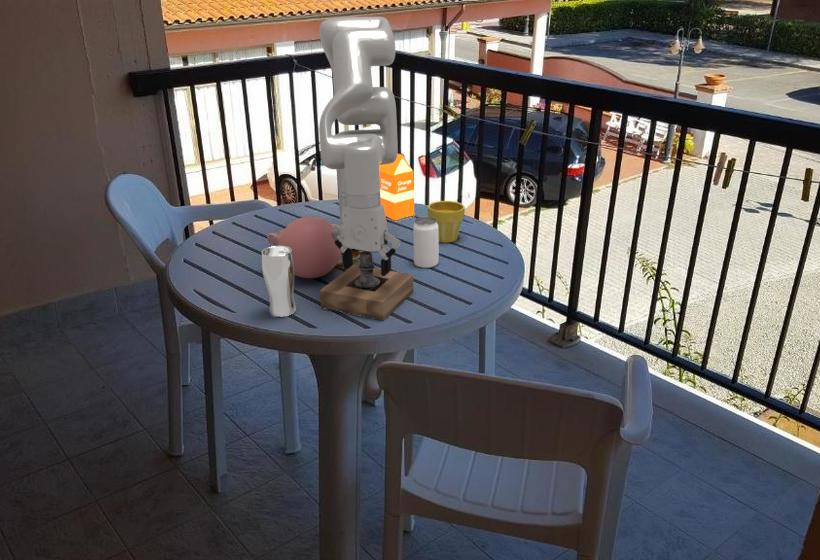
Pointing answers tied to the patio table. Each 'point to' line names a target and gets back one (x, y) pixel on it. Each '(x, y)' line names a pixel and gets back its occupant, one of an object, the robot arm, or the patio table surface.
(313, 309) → the patio table surface
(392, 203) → the orange juice
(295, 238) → the pink party balloon
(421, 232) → the can
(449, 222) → the plant pot
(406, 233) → the patio table surface
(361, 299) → the socket block
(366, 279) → the grey chess piece
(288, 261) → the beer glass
